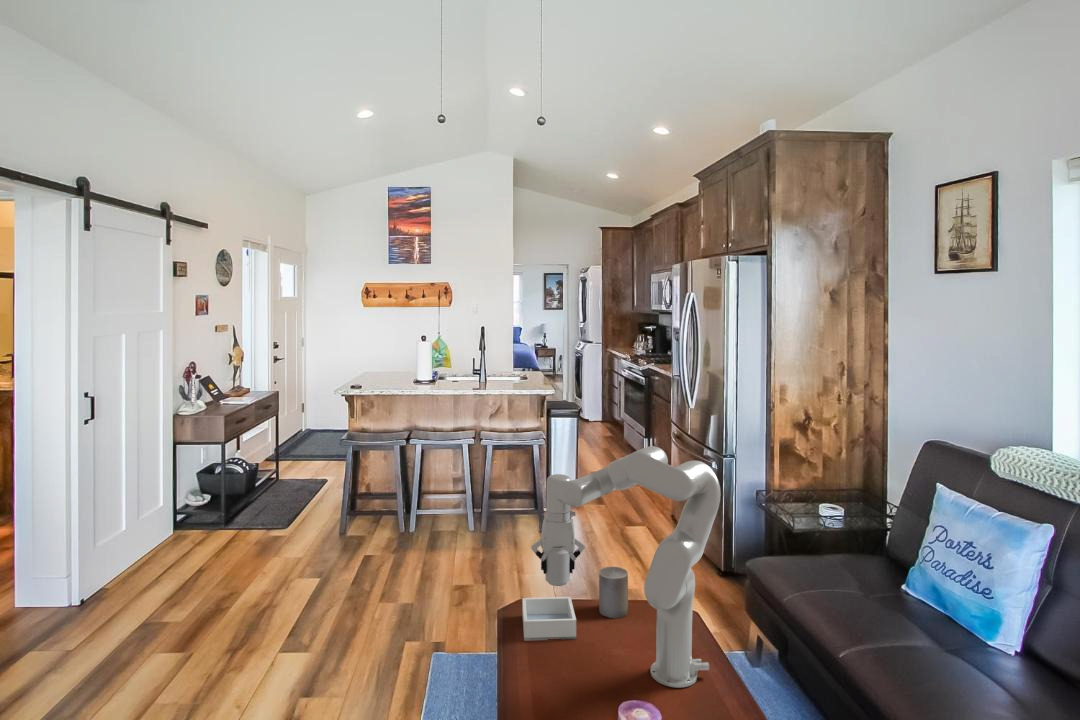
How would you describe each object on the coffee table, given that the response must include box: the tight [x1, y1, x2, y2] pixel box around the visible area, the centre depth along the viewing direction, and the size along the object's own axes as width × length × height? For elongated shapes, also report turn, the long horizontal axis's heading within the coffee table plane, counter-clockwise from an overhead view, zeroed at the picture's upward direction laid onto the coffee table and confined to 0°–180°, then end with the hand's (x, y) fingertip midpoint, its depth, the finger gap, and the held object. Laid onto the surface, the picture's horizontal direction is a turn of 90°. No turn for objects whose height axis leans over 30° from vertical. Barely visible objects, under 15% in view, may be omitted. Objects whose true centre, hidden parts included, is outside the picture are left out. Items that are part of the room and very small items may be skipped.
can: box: [544, 547, 571, 587], centre depth 190 cm, size 8×8×12 cm
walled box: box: [521, 596, 577, 642], centre depth 197 cm, size 16×16×6 cm
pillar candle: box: [598, 566, 629, 619], centre depth 207 cm, size 10×10×15 cm
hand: (557, 571), depth 190 cm, fingers closed on can, 7 cm apart
